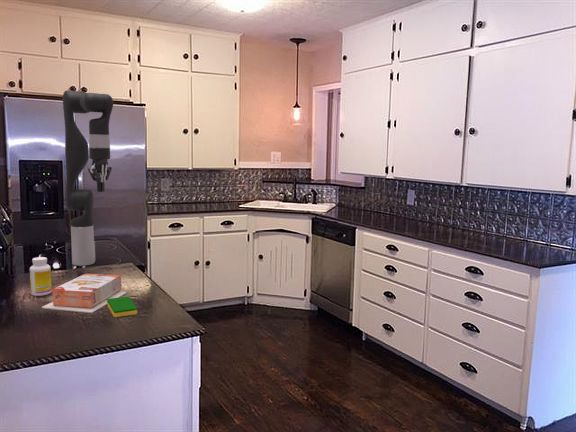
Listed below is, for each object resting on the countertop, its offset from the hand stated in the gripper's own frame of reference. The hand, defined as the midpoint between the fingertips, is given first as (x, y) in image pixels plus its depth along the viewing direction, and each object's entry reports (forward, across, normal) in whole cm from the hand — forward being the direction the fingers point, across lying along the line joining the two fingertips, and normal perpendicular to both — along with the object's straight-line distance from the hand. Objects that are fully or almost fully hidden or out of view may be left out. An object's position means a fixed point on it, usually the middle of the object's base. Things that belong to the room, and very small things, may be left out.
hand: (100, 191), depth 187 cm
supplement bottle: (+35, +23, -10) cm, 43 cm away
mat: (+35, +25, +9) cm, 44 cm away
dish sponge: (+36, +30, +25) cm, 53 cm away
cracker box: (+32, +13, +8) cm, 35 cm away
